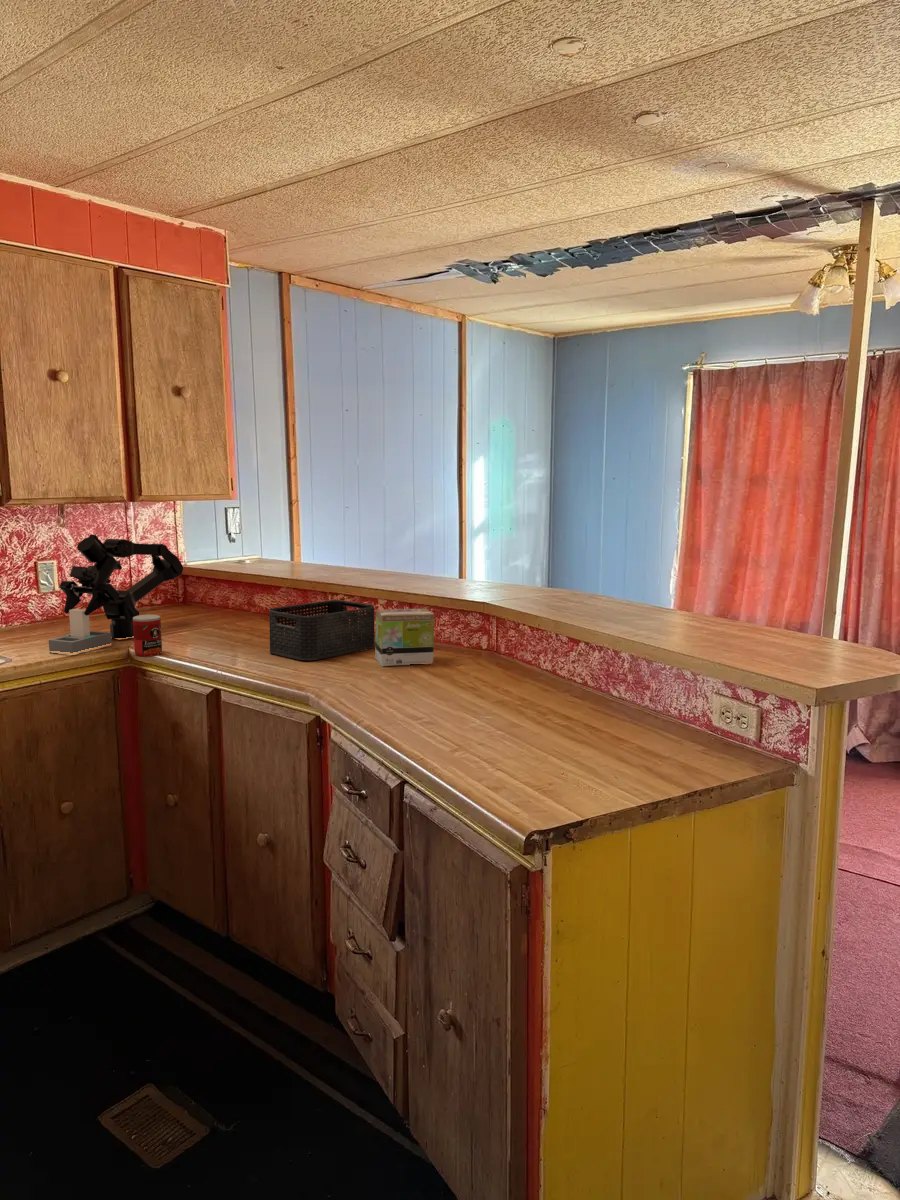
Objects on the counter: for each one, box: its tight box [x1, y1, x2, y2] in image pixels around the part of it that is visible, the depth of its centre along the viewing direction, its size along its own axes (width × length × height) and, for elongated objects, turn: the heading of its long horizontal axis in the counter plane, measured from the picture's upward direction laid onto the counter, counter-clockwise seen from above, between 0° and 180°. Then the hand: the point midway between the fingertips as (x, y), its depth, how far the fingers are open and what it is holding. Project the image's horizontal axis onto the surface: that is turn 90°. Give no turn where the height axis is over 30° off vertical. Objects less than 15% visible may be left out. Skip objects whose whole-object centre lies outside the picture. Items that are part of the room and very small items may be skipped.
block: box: [68, 608, 91, 638], centre depth 248 cm, size 2×5×12 cm, turn 69°
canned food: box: [133, 614, 163, 657], centre depth 243 cm, size 8×8×11 cm
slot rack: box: [48, 630, 113, 653], centre depth 249 cm, size 15×9×4 cm, turn 159°
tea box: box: [374, 608, 435, 667], centre depth 235 cm, size 15×10×15 cm, turn 105°
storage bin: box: [268, 599, 376, 661], centre depth 250 cm, size 29×19×13 cm
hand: (75, 613), depth 246 cm, fingers open, 7 cm apart
